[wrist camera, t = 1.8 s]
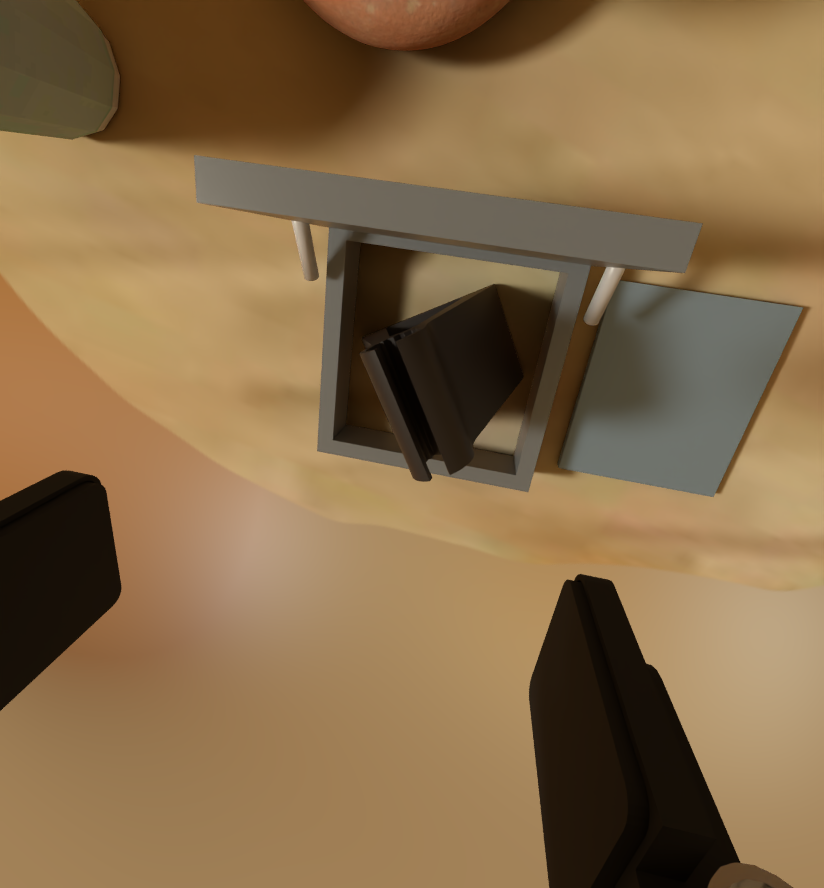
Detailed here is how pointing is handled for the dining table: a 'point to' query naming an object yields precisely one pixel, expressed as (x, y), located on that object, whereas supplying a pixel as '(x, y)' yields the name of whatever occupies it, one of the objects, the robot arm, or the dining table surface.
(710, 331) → the slate mat
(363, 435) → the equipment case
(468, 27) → the ceramic jug
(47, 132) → the disposable coffee cup
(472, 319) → the phone stand
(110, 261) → the dining table surface
